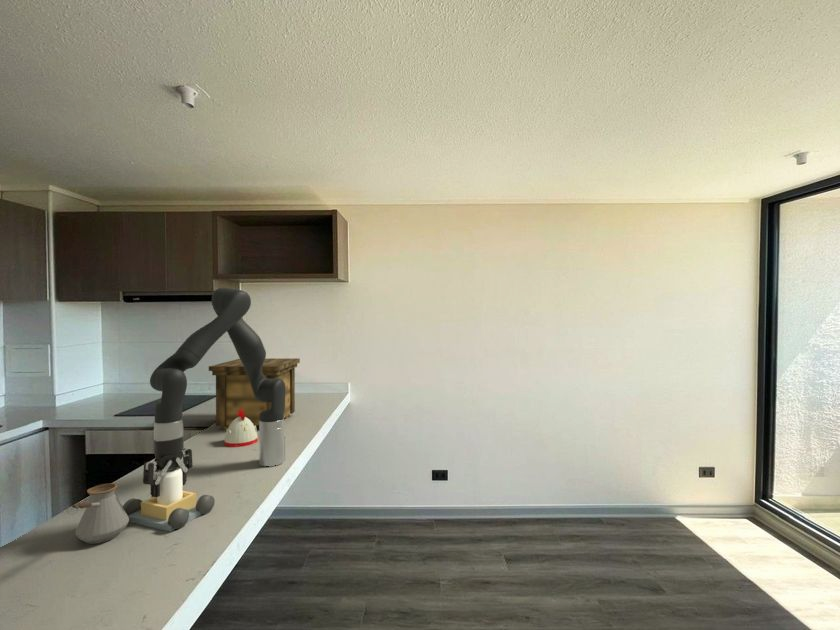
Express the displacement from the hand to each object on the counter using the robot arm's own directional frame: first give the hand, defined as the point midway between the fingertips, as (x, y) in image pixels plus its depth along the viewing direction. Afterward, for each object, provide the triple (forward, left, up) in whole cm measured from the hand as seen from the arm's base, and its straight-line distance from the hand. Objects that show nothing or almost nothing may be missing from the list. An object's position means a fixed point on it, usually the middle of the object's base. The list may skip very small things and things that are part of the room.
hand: (169, 490), depth 124 cm
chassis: (0, 0, -7) cm, 7 cm away
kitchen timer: (-62, -31, -7) cm, 70 cm away
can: (0, 0, -6) cm, 6 cm away
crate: (-92, -48, -7) cm, 104 cm away
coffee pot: (+19, -3, -7) cm, 20 cm away
